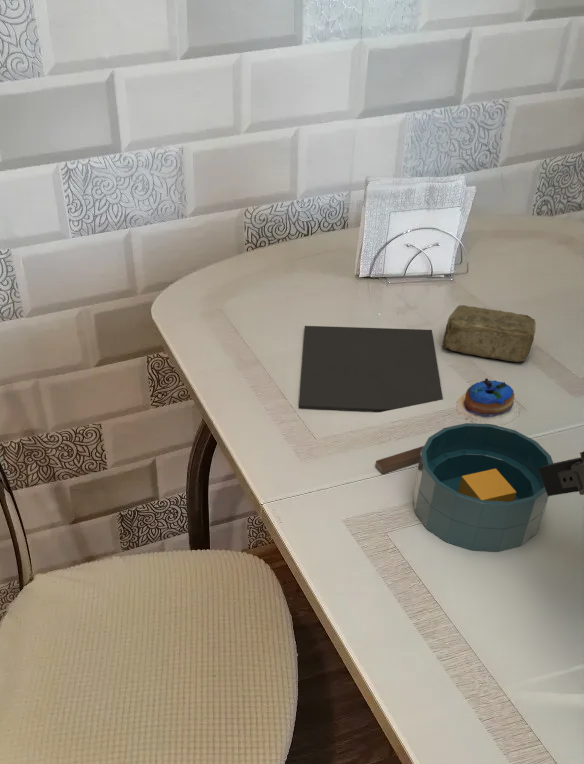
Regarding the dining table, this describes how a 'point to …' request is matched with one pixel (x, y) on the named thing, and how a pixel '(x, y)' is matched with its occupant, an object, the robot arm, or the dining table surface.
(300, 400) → the mat
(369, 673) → the dining table surface
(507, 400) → the dessert
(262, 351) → the dining table surface
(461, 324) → the stone block
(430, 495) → the bowl
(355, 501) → the dining table surface
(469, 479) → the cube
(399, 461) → the stop rail
